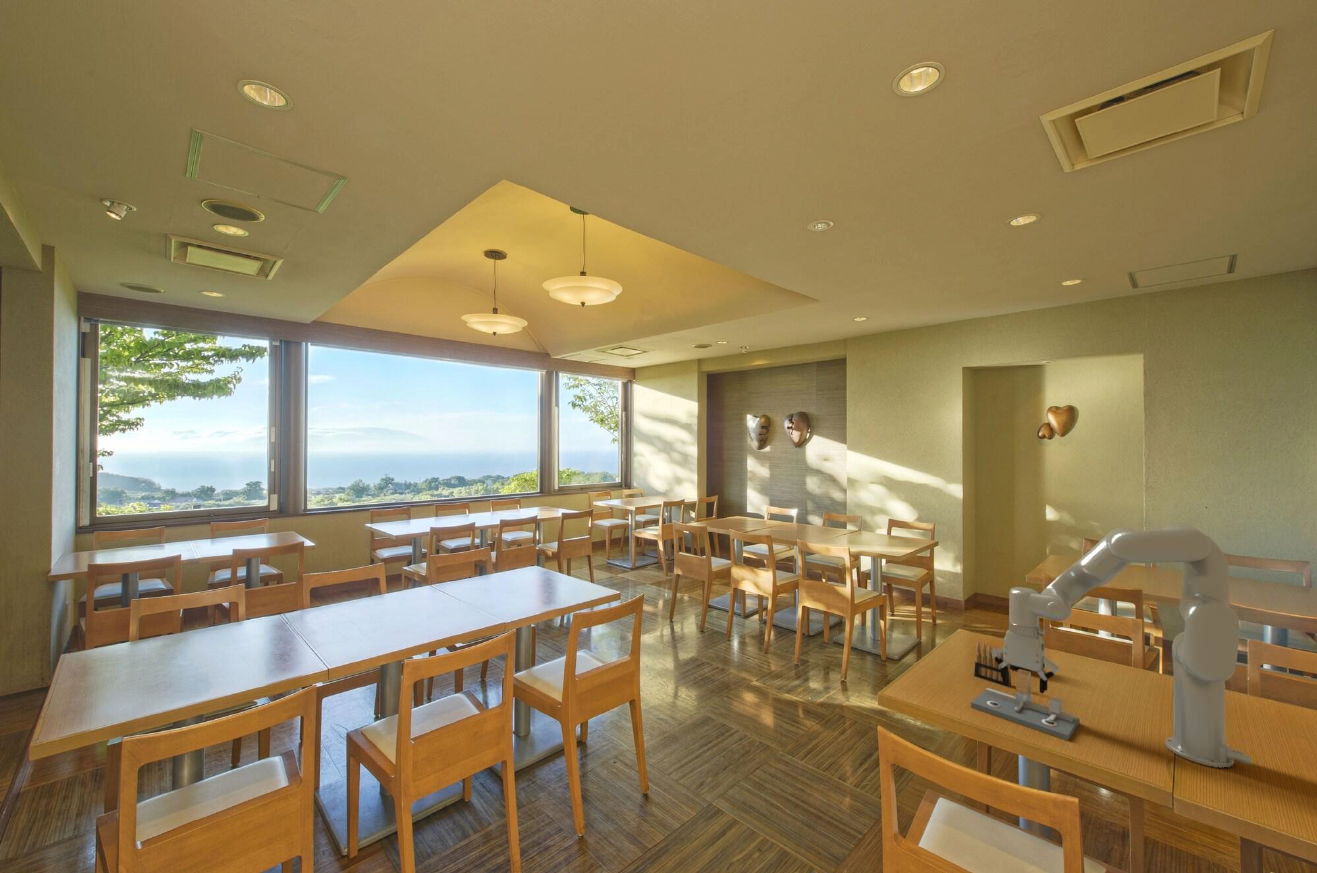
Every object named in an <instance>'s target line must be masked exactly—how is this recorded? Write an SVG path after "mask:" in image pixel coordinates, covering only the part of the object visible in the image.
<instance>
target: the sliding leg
mask: <svg viewBox="0 0 1317 873" xmlns="http://www.w3.org/2000/svg"><path fill="white" fill-rule="evenodd" d="M1015 672H1016V673H1015V675H1016V677H1015V678H1016V683H1015V684H1016V685H1015V686H1016V688H1015V697H1016V700H1019V705H1018V706H1017V707H1015V708H1014V709H1015V711H1016V712H1019V711H1020V710H1021V709H1022V708H1023V707H1024V702H1025V703H1028V702H1029V701H1031V700H1032V691H1031V690H1032V687H1031V686H1032V680H1031V679H1032V678H1031V677H1032V672H1031V671H1030V670H1029V671H1025V670H1022V669H1019V670H1018V671H1015Z"/></svg>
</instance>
